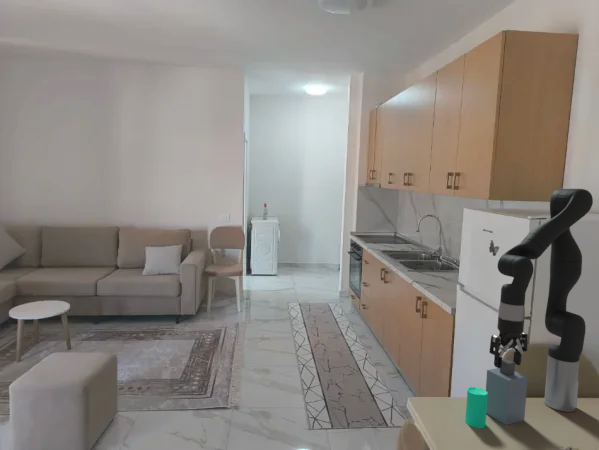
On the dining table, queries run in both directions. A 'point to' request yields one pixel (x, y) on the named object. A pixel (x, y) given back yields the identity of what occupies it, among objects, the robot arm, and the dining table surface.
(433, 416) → the dining table surface
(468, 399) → the candle
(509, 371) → the cover
